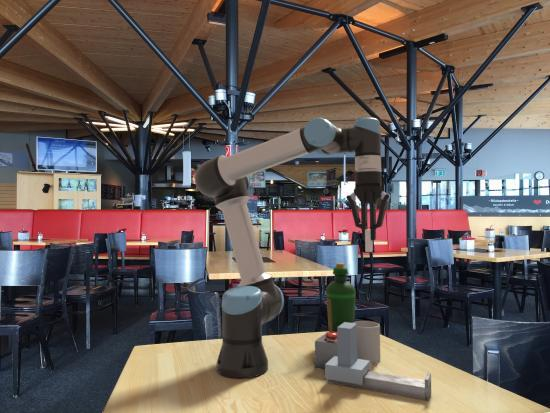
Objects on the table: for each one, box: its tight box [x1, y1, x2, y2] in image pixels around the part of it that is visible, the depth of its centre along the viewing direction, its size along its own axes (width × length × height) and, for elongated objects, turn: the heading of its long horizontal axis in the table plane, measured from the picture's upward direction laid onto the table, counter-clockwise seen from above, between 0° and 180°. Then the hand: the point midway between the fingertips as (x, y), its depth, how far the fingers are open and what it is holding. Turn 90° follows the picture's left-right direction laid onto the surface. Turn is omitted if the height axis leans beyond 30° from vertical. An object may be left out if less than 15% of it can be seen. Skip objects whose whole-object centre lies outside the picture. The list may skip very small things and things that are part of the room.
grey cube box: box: [314, 333, 338, 371], centre depth 129 cm, size 8×8×8 cm
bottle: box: [325, 262, 357, 332], centre depth 151 cm, size 11×11×28 cm
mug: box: [354, 320, 381, 365], centre depth 136 cm, size 12×8×11 cm
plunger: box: [325, 331, 337, 342], centre depth 129 cm, size 4×4×9 cm
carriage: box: [324, 322, 371, 385], centre depth 116 cm, size 10×8×14 cm
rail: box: [326, 370, 432, 401], centre depth 112 cm, size 26×5×5 cm, turn 63°
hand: (369, 251), depth 126 cm, fingers closed
